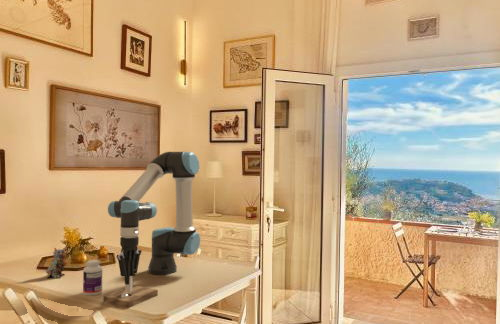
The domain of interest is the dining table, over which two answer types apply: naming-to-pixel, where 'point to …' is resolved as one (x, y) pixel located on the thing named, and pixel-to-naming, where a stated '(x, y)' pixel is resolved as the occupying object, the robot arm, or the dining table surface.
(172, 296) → the dining table surface
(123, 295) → the ball
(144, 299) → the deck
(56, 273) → the figurine
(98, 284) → the pill bottle
